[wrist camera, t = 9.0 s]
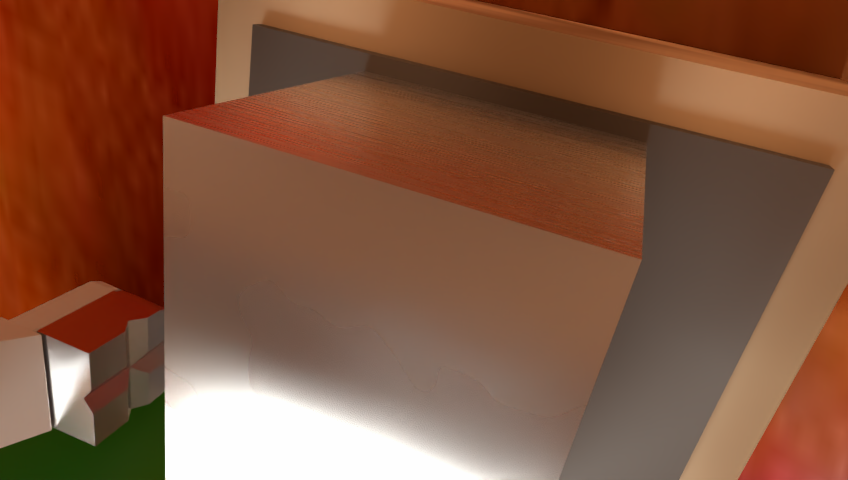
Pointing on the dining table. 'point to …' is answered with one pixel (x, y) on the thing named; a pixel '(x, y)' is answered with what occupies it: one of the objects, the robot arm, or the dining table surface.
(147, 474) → the motor
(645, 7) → the dining table surface
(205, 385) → the block
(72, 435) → the robot arm
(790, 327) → the stand
